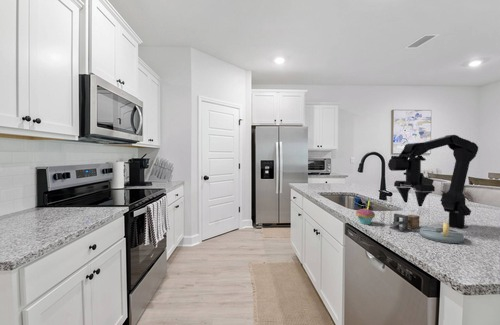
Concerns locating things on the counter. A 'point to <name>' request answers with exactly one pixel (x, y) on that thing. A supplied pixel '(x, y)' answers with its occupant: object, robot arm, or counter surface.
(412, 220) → the grey brown long block
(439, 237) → the handwheel
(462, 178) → the robot arm
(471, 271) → the counter surface
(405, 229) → the eye bracket
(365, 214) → the cupcake
